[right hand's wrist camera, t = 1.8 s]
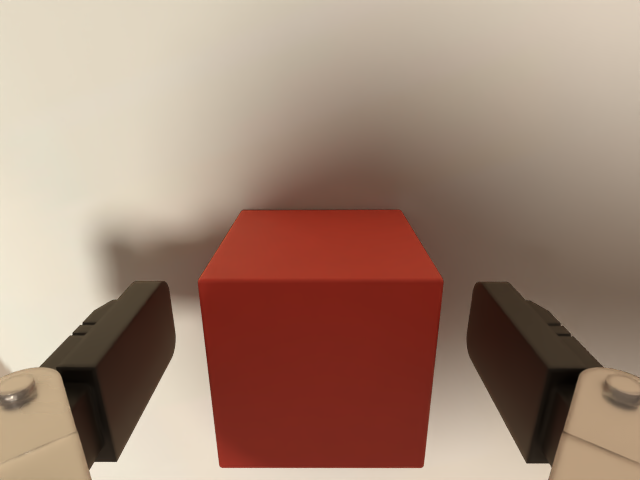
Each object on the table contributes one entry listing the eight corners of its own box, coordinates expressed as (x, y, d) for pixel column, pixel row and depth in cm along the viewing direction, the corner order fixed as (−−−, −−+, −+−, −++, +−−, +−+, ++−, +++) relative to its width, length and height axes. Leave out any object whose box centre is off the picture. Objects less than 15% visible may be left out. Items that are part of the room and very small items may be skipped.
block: (401, 209, 13) (445, 279, 8) (392, 347, 14) (424, 469, 10) (241, 209, 13) (196, 280, 8) (251, 348, 14) (218, 469, 10)
